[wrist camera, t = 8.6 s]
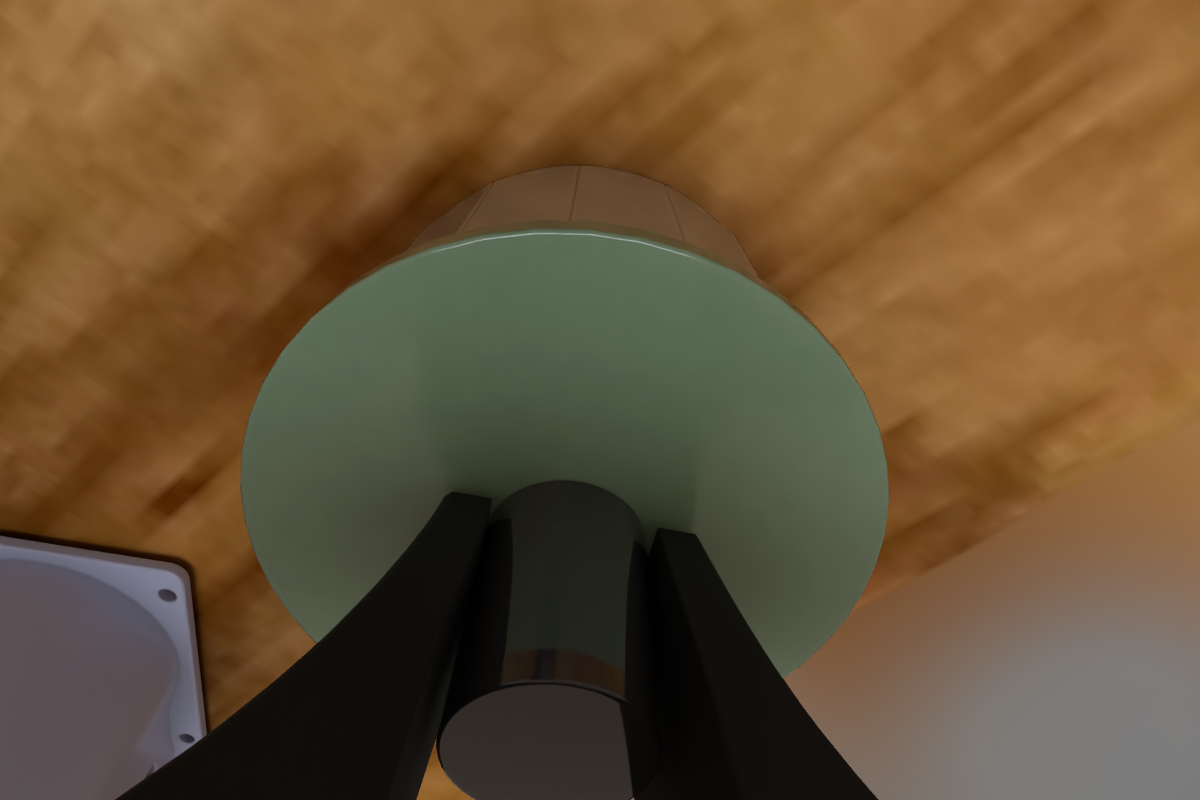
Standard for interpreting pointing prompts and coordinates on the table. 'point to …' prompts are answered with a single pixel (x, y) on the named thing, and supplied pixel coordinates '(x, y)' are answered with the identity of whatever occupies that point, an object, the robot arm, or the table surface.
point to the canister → (589, 207)
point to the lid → (566, 476)
